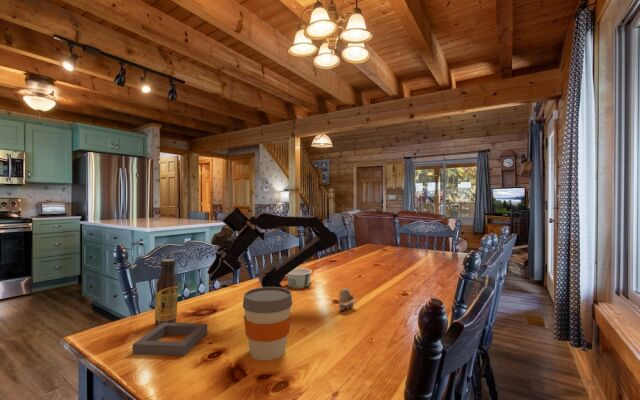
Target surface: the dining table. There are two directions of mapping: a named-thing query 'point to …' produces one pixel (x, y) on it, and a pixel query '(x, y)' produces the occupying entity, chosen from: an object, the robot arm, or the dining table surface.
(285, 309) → the reusable coffee cup
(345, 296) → the architectural model
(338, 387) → the dining table surface
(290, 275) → the food container
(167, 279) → the sauce bottle
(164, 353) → the grey square frame
